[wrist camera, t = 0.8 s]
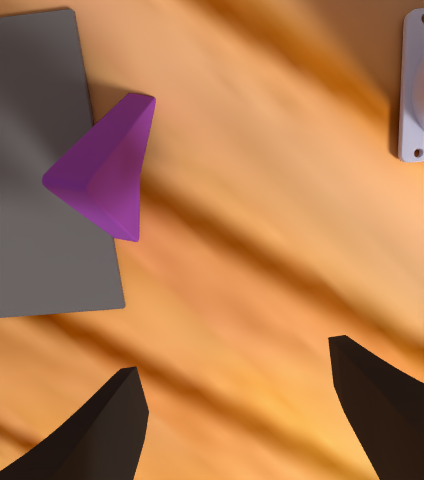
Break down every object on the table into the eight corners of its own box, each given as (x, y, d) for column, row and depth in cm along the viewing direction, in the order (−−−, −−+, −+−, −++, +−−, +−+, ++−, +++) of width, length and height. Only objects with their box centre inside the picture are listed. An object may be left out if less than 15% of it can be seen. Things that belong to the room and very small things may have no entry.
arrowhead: (138, 166, 25) (120, 27, 16) (159, 170, 25) (153, 33, 16) (96, 289, 20) (38, 180, 11) (123, 293, 20) (85, 188, 11)
